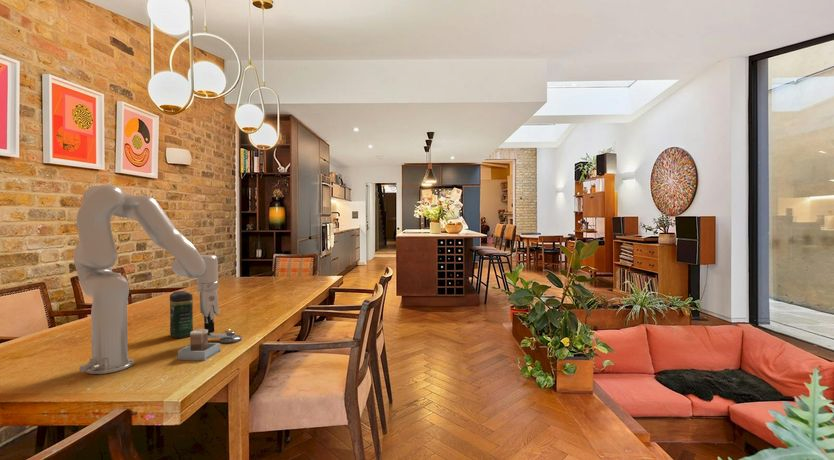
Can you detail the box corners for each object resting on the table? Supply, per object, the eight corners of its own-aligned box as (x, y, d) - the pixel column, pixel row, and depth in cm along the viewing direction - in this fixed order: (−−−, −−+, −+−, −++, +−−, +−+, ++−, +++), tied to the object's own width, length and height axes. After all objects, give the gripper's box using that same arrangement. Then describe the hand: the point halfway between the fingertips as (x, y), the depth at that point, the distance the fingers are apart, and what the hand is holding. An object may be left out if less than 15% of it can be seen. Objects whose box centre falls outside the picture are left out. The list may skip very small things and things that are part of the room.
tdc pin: (228, 336, 171) (228, 330, 171) (224, 336, 171) (224, 330, 171) (231, 335, 173) (231, 328, 173) (226, 335, 173) (226, 328, 173)
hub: (235, 343, 162) (235, 340, 162) (215, 343, 163) (215, 340, 163) (245, 337, 170) (245, 334, 170) (226, 337, 171) (226, 334, 171)
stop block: (201, 355, 147) (201, 332, 146) (190, 354, 147) (190, 332, 147) (208, 351, 151) (207, 329, 150) (197, 351, 151) (197, 329, 151)
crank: (236, 335, 169) (236, 321, 168) (232, 338, 165) (232, 324, 164) (208, 335, 169) (208, 321, 168) (203, 338, 165) (203, 323, 164)
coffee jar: (195, 336, 173) (195, 291, 172) (174, 339, 167) (173, 294, 166) (188, 331, 180) (188, 288, 179) (168, 334, 174) (167, 291, 173)
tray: (204, 360, 144) (204, 351, 144) (177, 359, 144) (177, 351, 144) (220, 351, 153) (220, 343, 153) (194, 350, 154) (194, 342, 154)
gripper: (223, 287, 159) (225, 334, 160) (213, 282, 170) (214, 326, 171) (202, 290, 154) (203, 338, 155) (192, 285, 165) (194, 330, 166)
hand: (209, 332), depth 163 cm, fingers closed
